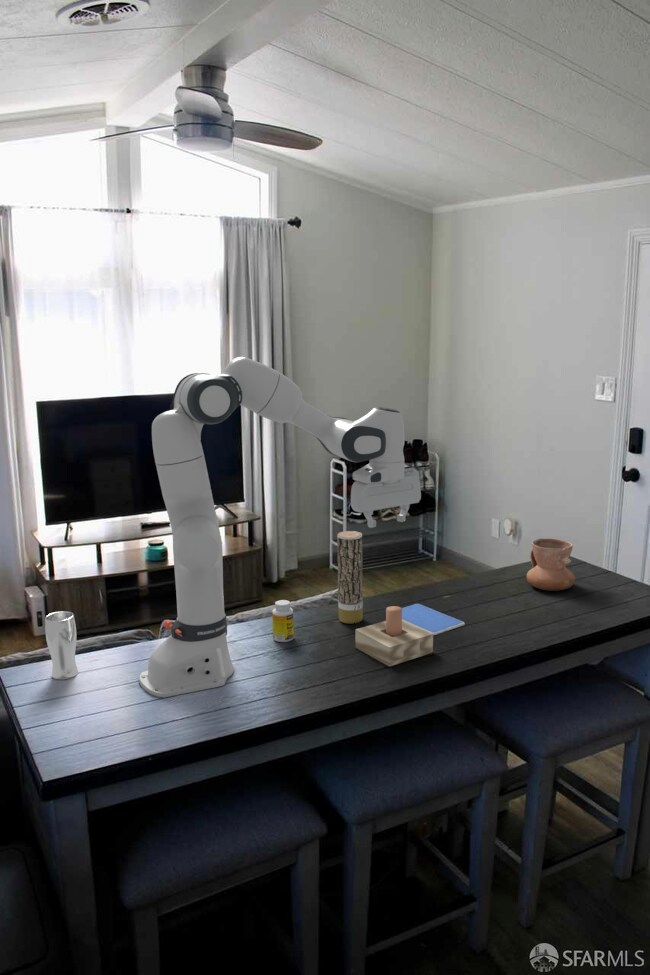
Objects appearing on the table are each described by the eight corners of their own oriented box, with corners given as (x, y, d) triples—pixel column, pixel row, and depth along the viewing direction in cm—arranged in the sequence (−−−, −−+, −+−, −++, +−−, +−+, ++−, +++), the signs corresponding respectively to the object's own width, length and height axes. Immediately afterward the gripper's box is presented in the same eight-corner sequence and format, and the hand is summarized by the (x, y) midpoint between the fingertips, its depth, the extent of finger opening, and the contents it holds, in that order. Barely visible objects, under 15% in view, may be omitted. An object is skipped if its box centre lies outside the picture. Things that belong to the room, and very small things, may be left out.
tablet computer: (466, 626, 219) (466, 621, 219) (433, 637, 212) (433, 633, 212) (417, 606, 235) (417, 602, 234) (385, 617, 227) (385, 612, 227)
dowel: (392, 650, 200) (392, 613, 198) (382, 645, 204) (382, 608, 202) (404, 646, 203) (405, 609, 200) (395, 641, 206) (395, 605, 204)
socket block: (389, 666, 194) (389, 647, 193) (355, 647, 205) (355, 629, 204) (432, 652, 202) (433, 633, 200) (397, 634, 213) (397, 617, 212)
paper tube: (336, 623, 221) (334, 537, 216) (341, 614, 228) (340, 530, 222) (360, 625, 220) (359, 538, 214) (364, 616, 226) (364, 531, 221)
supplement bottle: (288, 644, 208) (287, 607, 206) (269, 641, 210) (268, 604, 208) (297, 636, 213) (296, 600, 211) (278, 633, 215) (277, 597, 213)
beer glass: (81, 667, 197) (76, 609, 194) (78, 679, 190) (72, 620, 187) (52, 669, 196) (46, 612, 193) (47, 682, 189) (41, 622, 186)
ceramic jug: (587, 592, 242) (589, 547, 239) (546, 598, 237) (548, 552, 235) (551, 576, 259) (553, 533, 256) (513, 581, 254) (514, 538, 251)
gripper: (410, 464, 210) (410, 515, 213) (347, 473, 199) (347, 527, 202) (426, 468, 204) (425, 520, 207) (361, 478, 194) (362, 532, 197)
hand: (386, 524), depth 204 cm, fingers open, 8 cm apart
